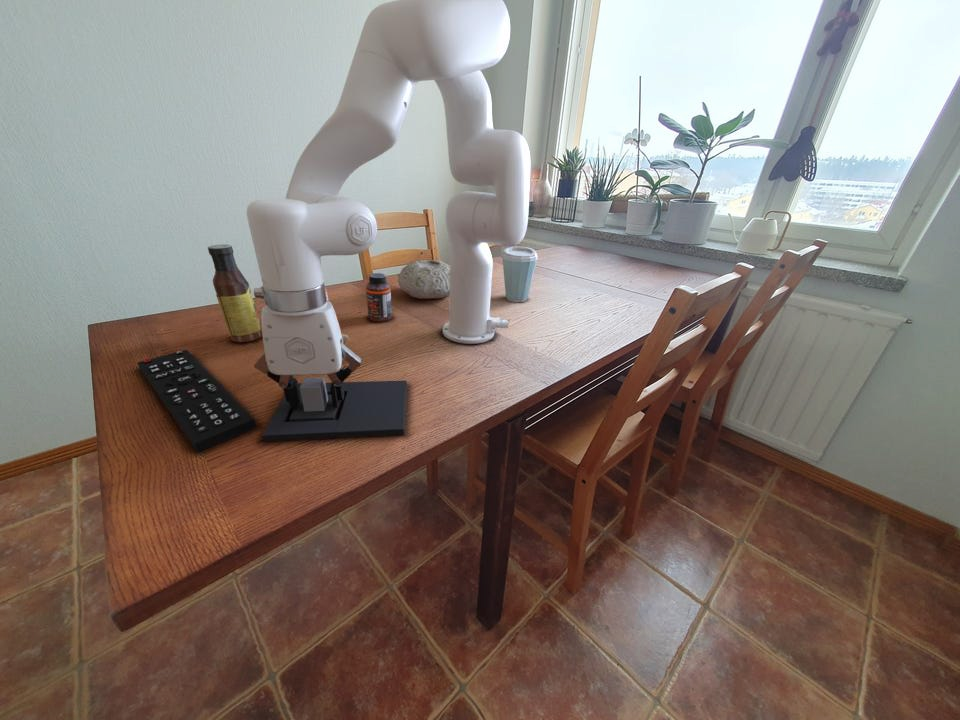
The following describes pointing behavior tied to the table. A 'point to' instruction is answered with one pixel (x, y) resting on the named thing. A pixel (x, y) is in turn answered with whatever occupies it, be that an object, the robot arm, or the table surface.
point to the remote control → (196, 399)
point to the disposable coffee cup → (518, 272)
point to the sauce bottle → (234, 296)
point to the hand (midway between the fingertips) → (316, 402)
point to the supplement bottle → (378, 298)
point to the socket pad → (348, 414)
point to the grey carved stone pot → (425, 279)
